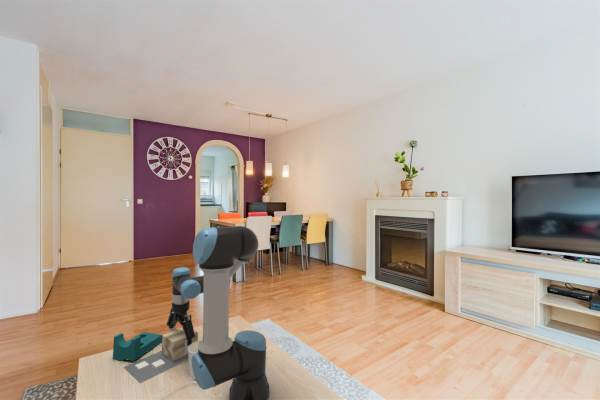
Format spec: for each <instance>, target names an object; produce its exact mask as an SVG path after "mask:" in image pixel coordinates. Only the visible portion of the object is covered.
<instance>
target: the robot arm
mask: <svg viewBox="0 0 600 400" xmlns="http://www.w3.org/2000/svg"><path fill="white" fill-rule="evenodd" d="M258 249H259V238H258V237H257V235H256V233H255V232H254V231H253V230H252V229H251V228H249V227H246V226H242V225H237V226H236V225H235V226H219V227H218V226H217V227H216V226H215V227H214V226H213V227H208V228H205V227H204V228H201V229H200V230H199V231H198V232H197V233H196V235H195V237H194V241H193V244H192V255H193V260H194V262H195V264H198V268H199V269H200V271H202V272H203V275H200V276H199V275H198V276H193V277H192V276H191V269H190V268H188V267H177V268H174V269H173V270H172V277H171V281H172V284H171V285H172V288H171V289H172V290H171V292H172V293H171V308H170V310H169V311H170V312H169V315H168V319H167V322H166V326H167V327H168V329H169V332H171V331H174V330H176V329H177V328H176V325H177V323H179V325H180V326H182V327H183V330H184V333H185V335H186V338H185V353H188V347H189V345H191V344H192V338H194V337H195V333H194V330H195V329H194V326H193V325H194V324H193V321H192V315H191V314H188V311H189V309H190V299H191V300H192V299H195V298H196V297H198V296H199V295H200V294H203V295H202V296H203V297H202V299H203V302H202V303H203V304H202V307H203V309H202V310H203V311H202V312H203V313H202V340H200V341H201V342H200V343H199V345H198V353H195V354H194V355H193V356H192V369H193V373H194V376H195V378H194V379H196V381H195V382H196V383H197V386H198V387H199V388H200V389H201V390H209V389H211V388H215V387H216V386H219V385H221V384H223V383H225V382H228V381H230V380H232V382H231V386H230V387H229V391H228V395H229V396H228V399H229V400H267V399H269V397H270V390H271V389H270V384H269V381H268V377H267V374H266V367H267V366H266V362H267V361H266V360H267V359H266V356H267V339H266V337H265V335H264V334H262V333H260V332H259V331H255V330H241V331H238V332H237V333H236V334H235V336H234V340H233V339H232V338H231V337H229V329H230V328H229V325H230V323H229V319H230V318H229V317H230V315H229V314H230V309H229V308H230V285H231V278H232V277H233V276H234V275H235V274H236V273H237V271H238V270H239V269H240V268H241V267H242V266H243V265H244V264H245V263H246V262H249V261H251V259H253V258H254V257H255V255H256V254H257V252H258ZM182 327H181V328H182ZM169 332H168V333H169Z"/></svg>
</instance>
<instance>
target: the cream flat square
mask: <svg viewBox="0 0 600 400" xmlns="http://www.w3.org/2000/svg"><path fill="white" fill-rule="evenodd" d="M164 365H165V362H164V361H163V360H161V359H160V360H158V361H156V362H153V363H152V366H153V367H154V368H155V369H158V368H160V367H162V366H164Z"/></svg>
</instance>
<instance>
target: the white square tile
mask: <svg viewBox="0 0 600 400" xmlns="http://www.w3.org/2000/svg"><path fill="white" fill-rule="evenodd" d="M148 367H149V364H148V363H147V362H146V361H143V362H141V363H139V364H137V365H135V368H136V369H137V370H138V371H141V370H143V369H145V368H148Z"/></svg>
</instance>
